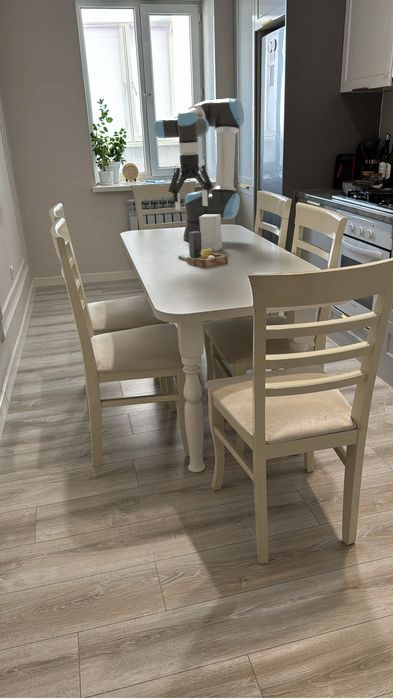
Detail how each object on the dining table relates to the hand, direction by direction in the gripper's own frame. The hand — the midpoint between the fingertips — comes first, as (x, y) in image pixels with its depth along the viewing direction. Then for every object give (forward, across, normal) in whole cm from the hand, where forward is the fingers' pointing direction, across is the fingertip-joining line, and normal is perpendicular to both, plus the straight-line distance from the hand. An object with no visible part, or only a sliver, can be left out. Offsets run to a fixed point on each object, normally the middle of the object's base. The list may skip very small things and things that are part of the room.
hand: (191, 207), depth 218 cm
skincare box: (+22, -15, -8) cm, 28 cm away
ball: (+19, +2, +15) cm, 24 cm away
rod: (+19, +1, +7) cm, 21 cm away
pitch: (+21, +1, +7) cm, 22 cm away
